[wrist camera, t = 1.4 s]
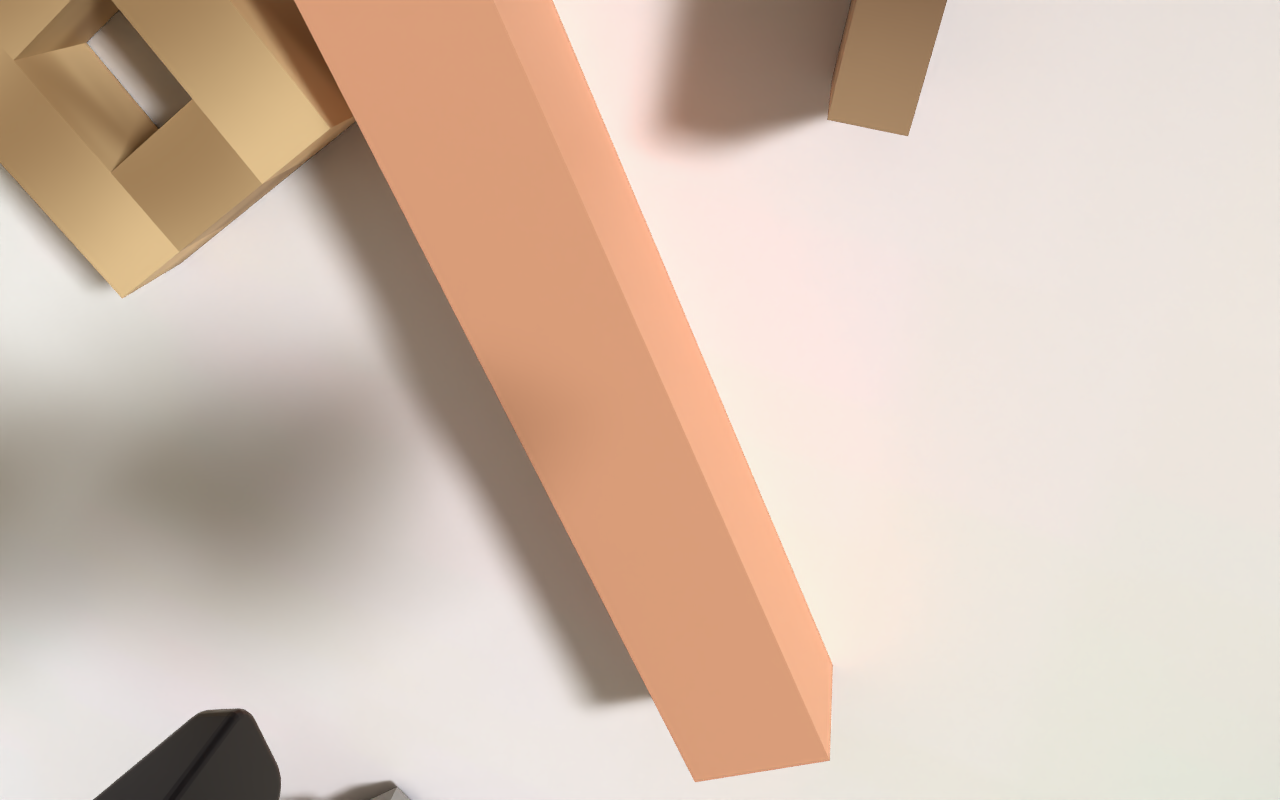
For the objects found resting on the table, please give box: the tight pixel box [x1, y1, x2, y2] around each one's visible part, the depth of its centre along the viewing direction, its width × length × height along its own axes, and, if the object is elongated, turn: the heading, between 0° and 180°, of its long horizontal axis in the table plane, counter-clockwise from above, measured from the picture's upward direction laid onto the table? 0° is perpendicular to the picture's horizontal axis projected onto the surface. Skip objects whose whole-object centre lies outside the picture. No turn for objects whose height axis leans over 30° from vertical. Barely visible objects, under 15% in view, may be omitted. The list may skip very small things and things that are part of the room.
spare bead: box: [0, 0, 356, 298], centre depth 19 cm, size 6×6×2 cm
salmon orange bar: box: [294, 0, 833, 782], centre depth 20 cm, size 19×3×3 cm, turn 23°
